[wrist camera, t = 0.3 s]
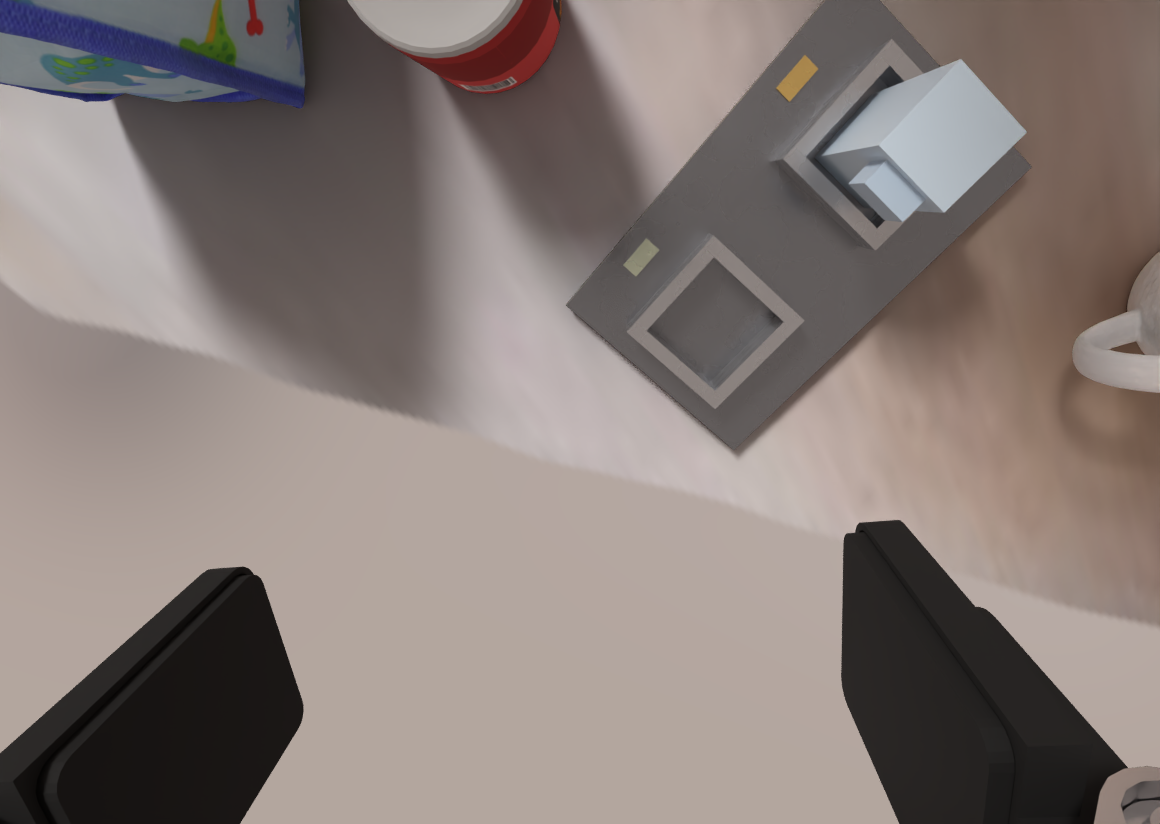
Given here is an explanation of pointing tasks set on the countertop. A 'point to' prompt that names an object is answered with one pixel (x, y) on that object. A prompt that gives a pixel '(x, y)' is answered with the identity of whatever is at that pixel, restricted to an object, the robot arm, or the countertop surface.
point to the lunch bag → (155, 49)
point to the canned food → (468, 37)
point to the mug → (1126, 339)
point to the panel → (774, 233)
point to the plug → (921, 143)
